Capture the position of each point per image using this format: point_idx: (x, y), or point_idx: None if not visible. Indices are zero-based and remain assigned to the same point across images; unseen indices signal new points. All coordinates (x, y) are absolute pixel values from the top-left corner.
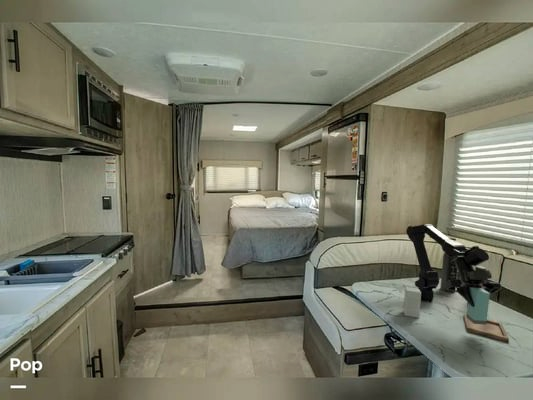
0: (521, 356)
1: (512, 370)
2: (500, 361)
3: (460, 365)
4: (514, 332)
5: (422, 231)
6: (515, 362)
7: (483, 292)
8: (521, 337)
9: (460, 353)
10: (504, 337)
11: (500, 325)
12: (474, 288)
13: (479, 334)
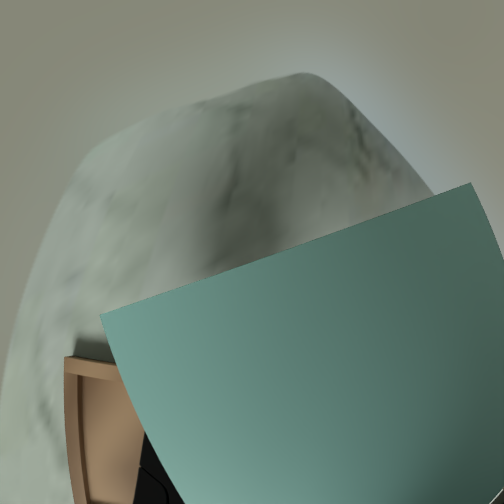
0: (62, 241)
1: (147, 121)
2: (167, 155)
3: (308, 89)
4: (36, 471)
5: None
6: (109, 177)
7: (349, 281)
8: (16, 433)
9: (306, 145)
10: (82, 359)
11: (81, 491)
12: (493, 466)
13: None
